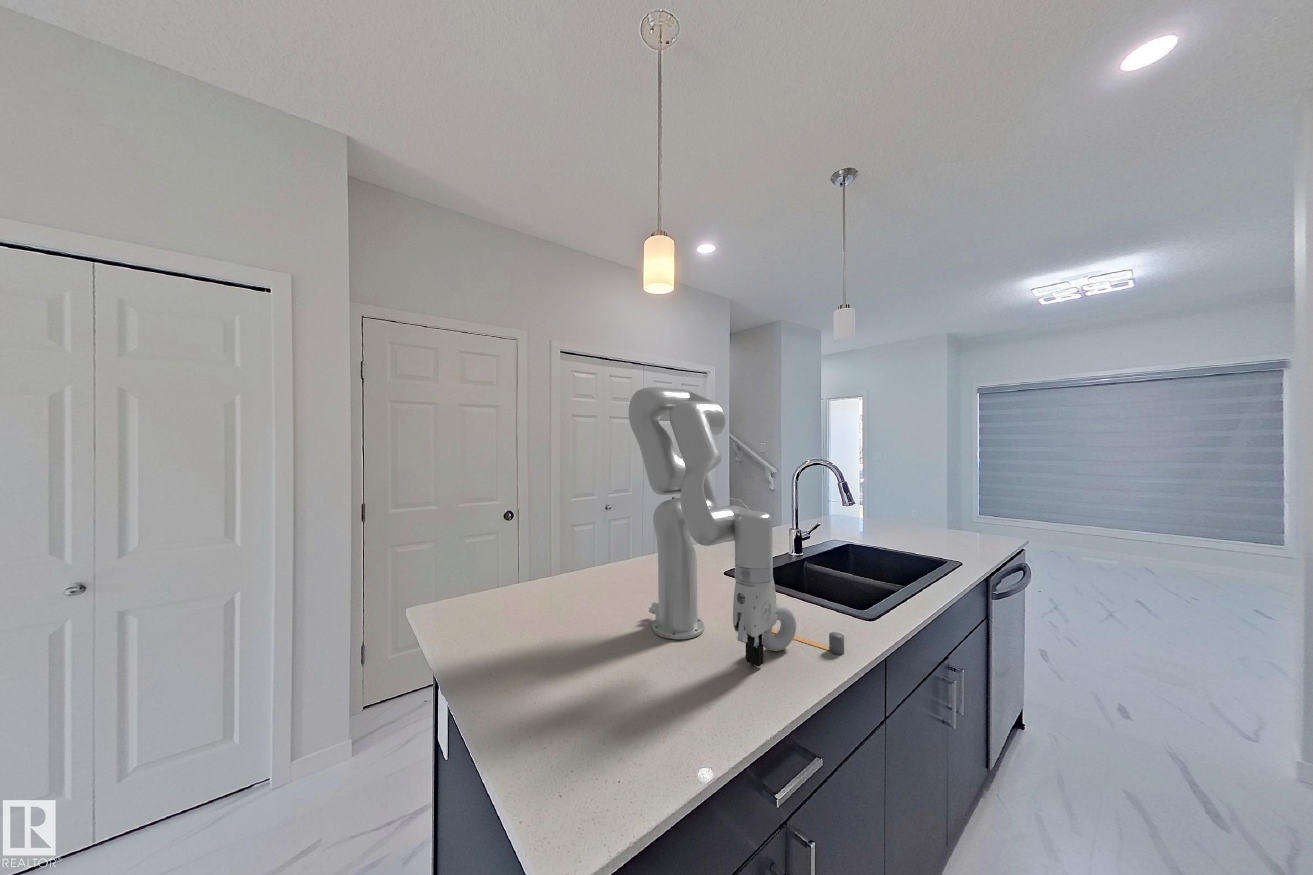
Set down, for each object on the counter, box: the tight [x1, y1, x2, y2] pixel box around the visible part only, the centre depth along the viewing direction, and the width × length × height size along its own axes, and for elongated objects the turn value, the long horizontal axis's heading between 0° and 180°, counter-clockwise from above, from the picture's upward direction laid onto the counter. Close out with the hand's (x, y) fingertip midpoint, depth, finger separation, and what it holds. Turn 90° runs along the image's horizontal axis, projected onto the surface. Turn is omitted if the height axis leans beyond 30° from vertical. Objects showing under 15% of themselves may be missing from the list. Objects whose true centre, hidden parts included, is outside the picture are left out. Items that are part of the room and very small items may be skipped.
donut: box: [762, 603, 797, 652], centre depth 97 cm, size 10×3×10 cm, turn 113°
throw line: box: [772, 628, 845, 656], centre depth 103 cm, size 23×3×4 cm, turn 47°
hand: (754, 662), depth 91 cm, fingers closed
